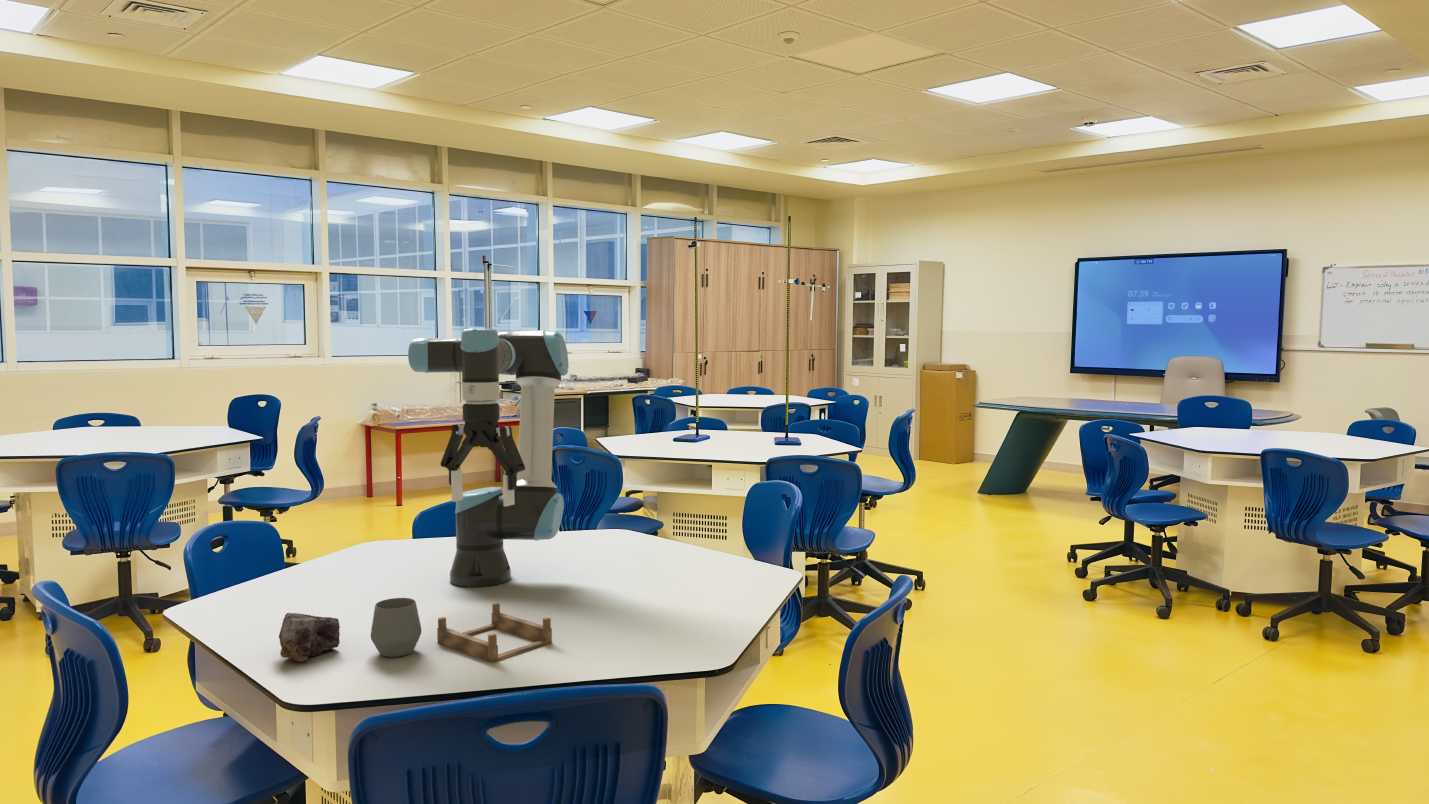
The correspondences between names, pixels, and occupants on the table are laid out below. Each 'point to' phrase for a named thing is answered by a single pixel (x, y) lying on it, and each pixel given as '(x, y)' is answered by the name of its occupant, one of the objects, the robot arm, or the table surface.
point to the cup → (395, 627)
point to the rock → (307, 635)
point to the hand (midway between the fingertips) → (482, 503)
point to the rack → (495, 636)
